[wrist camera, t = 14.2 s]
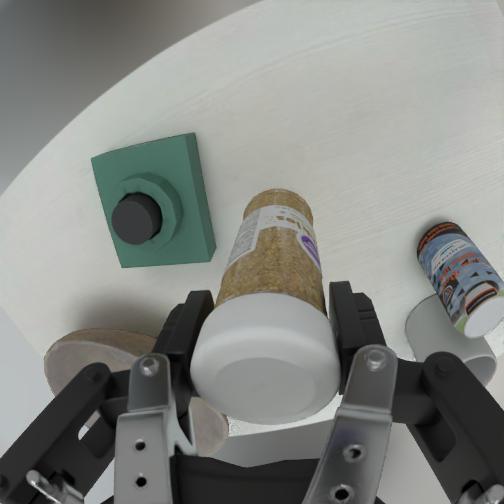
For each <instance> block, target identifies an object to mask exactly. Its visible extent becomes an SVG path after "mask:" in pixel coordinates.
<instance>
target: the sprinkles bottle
mask: <svg viewBox="0 0 504 504" xmlns="http://www.w3.org/2000/svg"><path fill="white" fill-rule="evenodd" d="M190 374H191V380H192V383H193V385H194V387H195V389H196V391H197V392H198V394H199V395H200V396H201V398H202V399H203V400H204V401H205V402H206V403H207V404H209V405H210V406H211V407H212V408H214V409H215V410H217V411H219V412H220V413H222V414H224V415H226V416H229V417H231V418H234V419H237V420H240V421H244V422H249V423H255V424H266V425H277V424H286V423H291V422H295V421H299V420H302V419H305V418H307V417H310V416H312V415H314V414H316V413H318V412H319V411H320V410H322V409H323V408H325V407H326V406H327V405H328V404H329V403H330V402H331V401H332V399H333V398H334V397H335V395H336V394H337V392H338V390H339V386H340V382H341V363H340V353H339V347H338V341H337V336H336V333H335V330H334V328H333V326H332V324H331V323H330V321H329V319H328V317H327V311H326V307H325V298H324V292H323V286H322V271H321V265H320V260H319V254H318V248H317V242H316V236H315V233H314V230H313V216H312V213H311V209H310V207H309V206H308V204H307V203H306V201H305V200H304V199H303V198H301V197H300V196H299V195H298V194H296V193H294V192H291V191H289V190H285V189H271V190H267V191H264V192H262V193H260V194H258V195H256V196H255V197H253V199H252V200H251V201H250V203H249V204H248V205H247V207H246V209H245V211H244V216H243V223H242V225H241V226H240V229H239V231H238V234H237V237H236V240H235V243H234V246H233V249H232V252H231V255H230V258H229V261H228V264H227V267H226V269H225V272H224V275H223V278H222V282H221V288H220V292H219V294H218V297H217V301H216V304H215V307H214V310H213V311H212V312H211V313H210V314H209V316H208V317H207V318H206V320H205V322H204V323H203V326H202V328H201V331H200V334H199V337H198V340H197V343H196V346H195V349H194V353H193V356H192V360H191V366H190Z"/></svg>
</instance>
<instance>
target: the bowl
mask: <svg viewBox="0 0 504 504" xmlns="http://www.w3.org/2000/svg"><path fill="white" fill-rule="evenodd" d="M156 341H157V339H156V338H153V337H151V336H148V335H143V334H139V333H135V332H130V331H125V330H117V329H102V328H91V329H83V330H78V331H75V332H72V333H70V334H68V335H66V336H64V337H62V338H61V339H59V340H57V341H56V342H55V343H54V344H53V345H52V346H51V347H50V348H49V350H48V351H47V352H46V355H45V357H44V371H45V375H46V377H47V380H48V383H49V385H50V388H51V390H52V392H53V394H54V395H55V397H56V396H57V395H58V394H59V393H60V392H61V391H62V389H63V388H64V387H65V386H66V385H67V384H68V383H69V382H70V381H71V380H72V379H73V378H74V377H75V376H76V375H77V374H78V373H79V371H80V370H81V369H83V368H84V367H85V366H87V365H89V364H91V363H95V362H101V363H104V364H106V365H107V366H108V367H109V369H110V370H111V372H117V371H123V370H128V369H131V366H132V364H133V363H134V361H135V360H136V359H138V358H139V357H140V356H142V355H144V354H147V353H151V351H152V349H153V347H154V345H155V343H156ZM189 405H190V407H191V410H192V418H193V426H194V433H195V441H196V448H197V452H198V455H199V456H200V457H207V456H209V455H211V454H213V453H215V452H217V451H218V450H219V449H220V448H221V447H222V446H223V445H224V443H225V442H226V440H227V437H228V433H229V424H228V419H227V417H226V415H224V414H222V413H220V412H219V411H217V410H215V409H214V408H212V407H211V406H210V405H209V404H207V403H206V402H205V401H204V400H203V399H202V398H199V397H191V401H190V404H189ZM99 417H100V415H99V414H98V413H97V411H95V412H94V414H93V415H92V416H91V417H90V418H89V420H88V421H87V422H86V423H85V424H84V425H85V426H87V427H88V428H89V429H90V428H91V426H92V425H93V424H94V423H95V422H96V420H97V419H98V418H99Z"/></svg>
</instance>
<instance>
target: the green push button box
mask: <svg viewBox="0 0 504 504" xmlns="http://www.w3.org/2000/svg"><path fill="white" fill-rule="evenodd" d="M91 162H92V167H93V171H94V175H95V179H96V183H97V187H98V191H99V195H100V198H101V202H102V206H103V209H104V213H105V216H106V220H107V223H108V227H109V230H110V233H111V236H112V240H113V243H114V246H115V249H116V252H117V255H118V258H119V261H120V264H121V267H122V268H131V267H145V266H160V265H174V264H187V263H201V262H210V261H211V259H212V257H213V254H214V252H215V250H216V244H215V239H214V234H213V229H212V224H211V219H210V214H209V209H208V204H207V198H206V193H205V188H204V182H203V177H202V171H201V166H200V160H199V155H198V149H197V143H196V138H195V133H189V134H183V135H178V136H173V137H168V138H164V139H159V140H155V141H150V142H146V143H141V144H137V145H133V146H129V147H125V148H121V149H117V150H114V151H110V152H106V153H103V154H101V155H98V156H95V157H93V158H91ZM133 194H144V195H146V196H149V197H150V198H151V199H153V200H154V201H155V202H156V204H157V205H158V207H159V209H160V212H161V223H160V226H159V228H158V229H157V231H156V232H155V233H154V234H153V235H152V236H151V237H150V238H149V239H148V240H147V241H146V242H145V243H143V244H140V245H131V244H128V243H126V242H124V241H122V240H121V239H120V238H119V237H118V236H117V235H116V233H115V232H114V229H113V227H112V222H111V216H112V212H113V210H114V208H115V207H116V206H117V205H118V204H119V203H120V202H122V201H123V200H125V199H126V198H127V197H129V196H131V195H133Z"/></svg>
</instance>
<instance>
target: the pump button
mask: <svg viewBox="0 0 504 504" xmlns="http://www.w3.org/2000/svg"><path fill="white" fill-rule="evenodd" d="M111 222H112V227H113V229H114V232H115V233H116V235H117V236H118V237H119V238H120V239H121V240H122V241H124V242H126V243H128V244H131V245H140V244H143V243H145V242H146V241H147V240H148V239H149V238H150V237H151V236H152V235H153V234H154V233H155V232H156V231H157V229H158V228H159V226H160V223H161V212H160V209H159V207H158V205H157V204H156V202H155V201H154V200H153V199H151V198H150V197H149V196H146V195H144V194H133V195H131V196H129V197H127V198H126V199H125V200H123V201H122V202H120V203H119V204H118V205H117V206H116V207H115V208H114V210H113V212H112V216H111Z"/></svg>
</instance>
